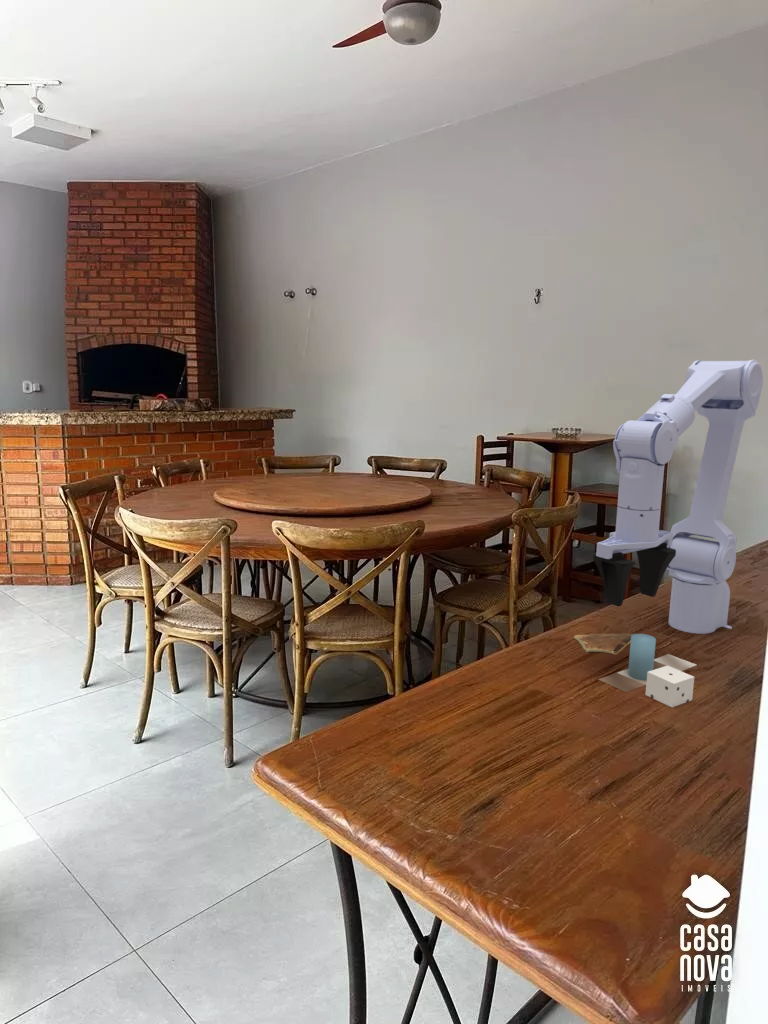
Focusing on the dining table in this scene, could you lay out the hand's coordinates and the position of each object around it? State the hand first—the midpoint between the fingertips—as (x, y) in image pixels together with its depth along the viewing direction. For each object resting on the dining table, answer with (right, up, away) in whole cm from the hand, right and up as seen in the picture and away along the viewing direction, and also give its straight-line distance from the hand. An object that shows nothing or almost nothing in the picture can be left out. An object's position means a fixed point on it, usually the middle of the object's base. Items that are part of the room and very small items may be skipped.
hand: (631, 599), depth 99 cm
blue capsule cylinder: (0, -10, -4) cm, 11 cm away
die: (+1, -12, -10) cm, 16 cm away
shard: (-1, -9, +9) cm, 13 cm away
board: (+2, -11, -2) cm, 11 cm away
